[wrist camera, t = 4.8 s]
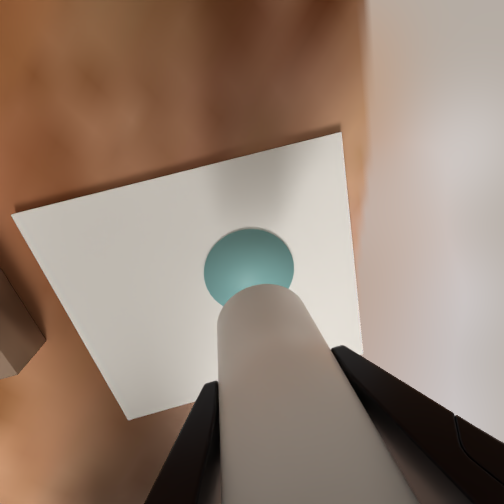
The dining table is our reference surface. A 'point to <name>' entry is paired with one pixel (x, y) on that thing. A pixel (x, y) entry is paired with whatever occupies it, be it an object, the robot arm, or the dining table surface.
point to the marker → (293, 412)
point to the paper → (198, 263)
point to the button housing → (15, 332)
